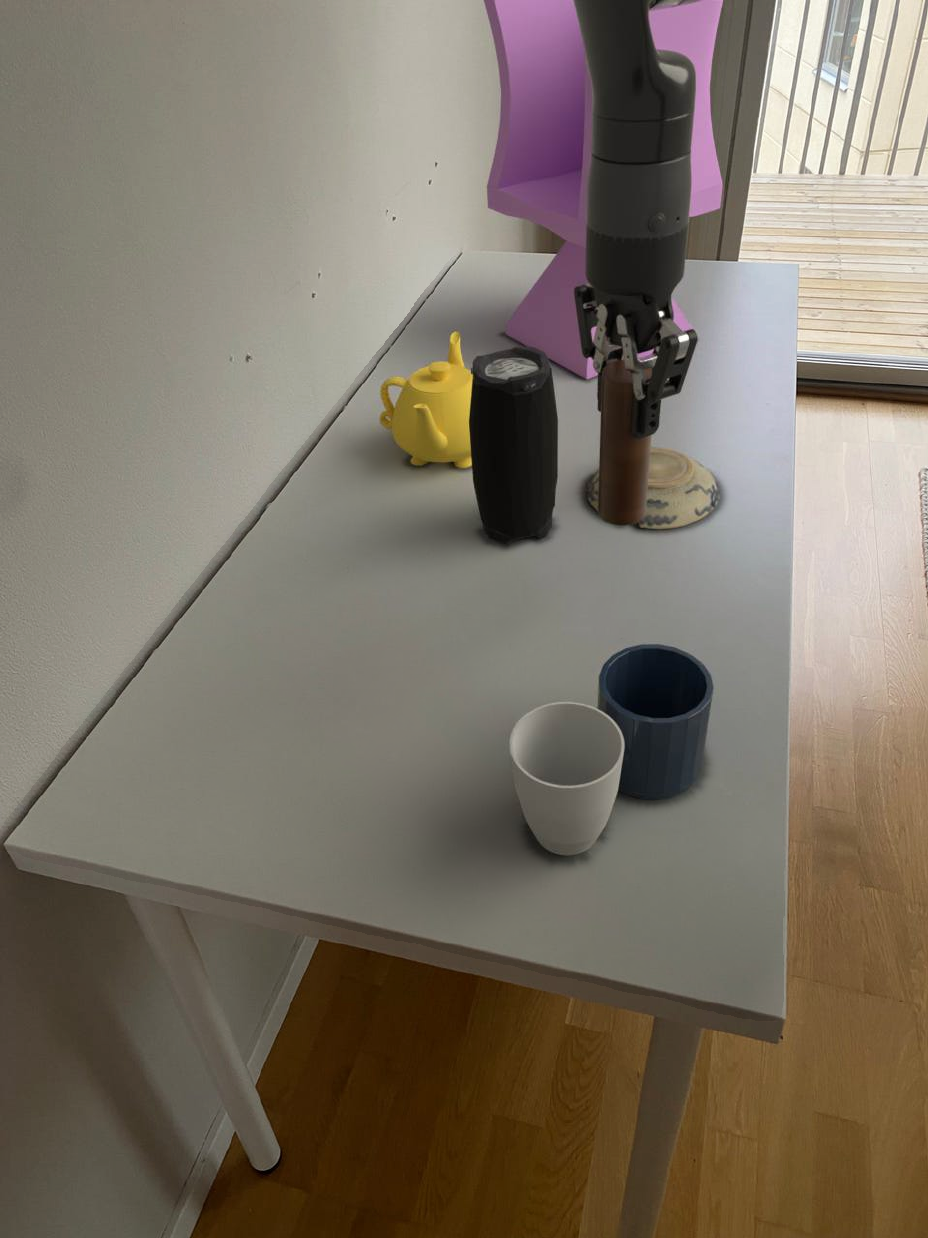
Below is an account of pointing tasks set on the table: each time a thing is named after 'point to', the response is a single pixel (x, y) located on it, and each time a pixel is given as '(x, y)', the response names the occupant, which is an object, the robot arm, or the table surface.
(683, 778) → the crock
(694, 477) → the decorative bowl
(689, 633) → the table surface
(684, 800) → the table surface
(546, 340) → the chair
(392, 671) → the table surface
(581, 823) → the cup
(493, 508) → the portable speaker
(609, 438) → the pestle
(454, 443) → the teapot
